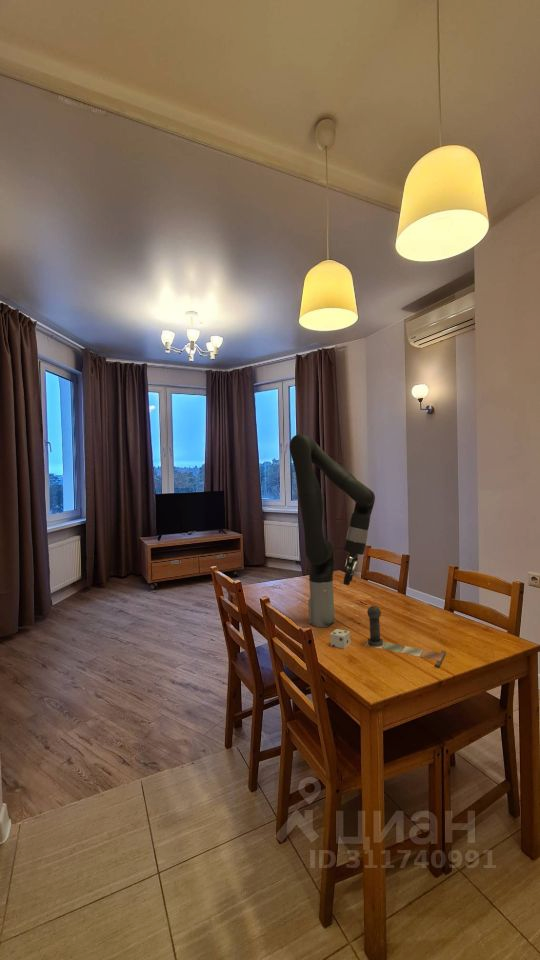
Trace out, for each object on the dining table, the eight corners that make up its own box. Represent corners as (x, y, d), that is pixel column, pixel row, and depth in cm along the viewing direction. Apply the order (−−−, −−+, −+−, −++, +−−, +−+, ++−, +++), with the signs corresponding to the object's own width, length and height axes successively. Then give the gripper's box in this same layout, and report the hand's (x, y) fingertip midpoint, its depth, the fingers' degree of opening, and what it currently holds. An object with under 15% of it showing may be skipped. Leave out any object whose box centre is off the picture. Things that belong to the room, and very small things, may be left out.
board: (361, 650, 127) (360, 648, 127) (372, 638, 136) (372, 636, 136) (439, 667, 114) (439, 664, 114) (446, 653, 123) (446, 650, 123)
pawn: (366, 644, 130) (364, 607, 130) (370, 639, 134) (369, 603, 134) (380, 647, 127) (378, 609, 127) (384, 642, 131) (383, 605, 131)
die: (330, 648, 130) (329, 633, 130) (336, 643, 134) (336, 628, 134) (344, 652, 127) (344, 636, 127) (350, 646, 131) (350, 631, 131)
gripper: (348, 536, 153) (340, 577, 153) (344, 538, 140) (334, 583, 139) (367, 541, 151) (359, 582, 151) (364, 543, 137) (355, 588, 137)
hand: (347, 582), depth 145 cm, fingers open, 8 cm apart
